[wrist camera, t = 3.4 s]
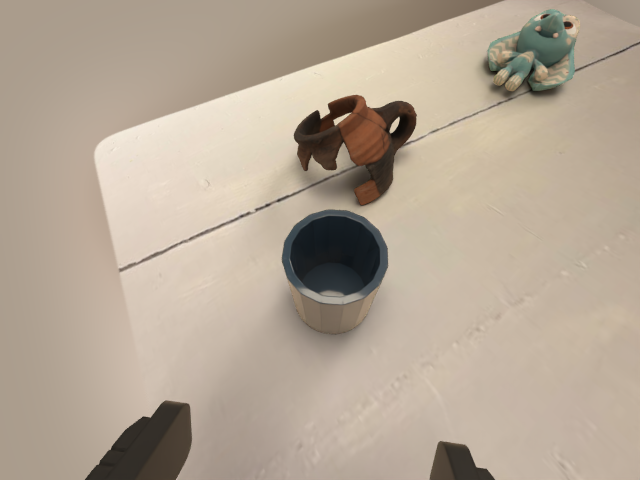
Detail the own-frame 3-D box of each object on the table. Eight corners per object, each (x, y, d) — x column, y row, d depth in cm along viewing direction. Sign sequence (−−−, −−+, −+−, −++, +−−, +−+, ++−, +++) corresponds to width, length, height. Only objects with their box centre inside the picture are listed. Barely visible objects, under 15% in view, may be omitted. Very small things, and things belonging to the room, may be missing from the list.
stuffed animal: (475, 33, 34) (537, -27, 36) (458, 85, 41) (511, 32, 43) (568, 73, 31) (632, 4, 32) (533, 123, 37) (588, 64, 39)
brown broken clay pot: (341, 228, 29) (300, 157, 24) (311, 190, 37) (275, 129, 32) (447, 160, 29) (428, 74, 24) (395, 136, 37) (373, 66, 31)
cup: (351, 349, 23) (363, 324, 16) (280, 312, 25) (262, 275, 18) (382, 279, 26) (402, 232, 19) (315, 249, 28) (312, 196, 21)
